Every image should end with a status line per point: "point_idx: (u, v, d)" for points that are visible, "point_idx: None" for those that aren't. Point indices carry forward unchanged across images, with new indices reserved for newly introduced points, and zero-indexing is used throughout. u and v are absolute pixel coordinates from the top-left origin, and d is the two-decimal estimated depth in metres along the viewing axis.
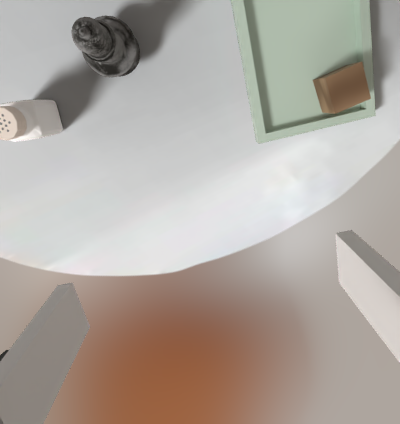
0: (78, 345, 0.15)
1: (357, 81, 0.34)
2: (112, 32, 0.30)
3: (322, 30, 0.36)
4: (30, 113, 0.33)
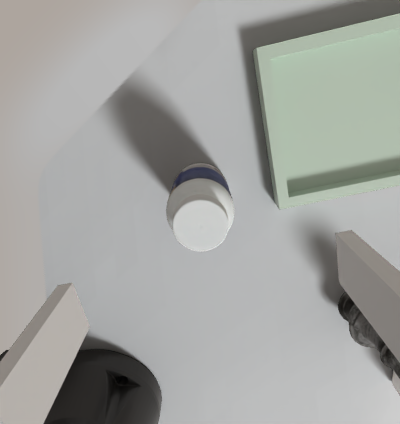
0: (78, 345, 0.15)
1: None
2: None
3: (394, 76, 0.27)
4: None
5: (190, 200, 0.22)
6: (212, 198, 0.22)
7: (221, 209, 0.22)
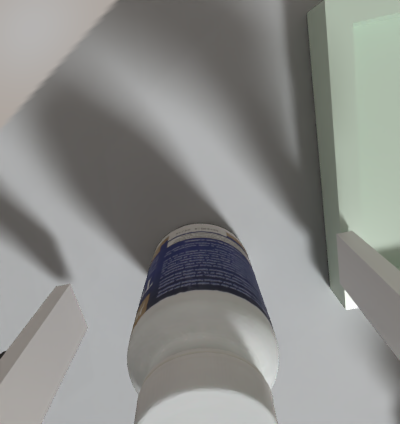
0: (76, 346, 0.15)
1: None
2: None
3: None
4: None
5: (180, 383, 0.08)
6: (237, 366, 0.09)
7: (263, 408, 0.08)
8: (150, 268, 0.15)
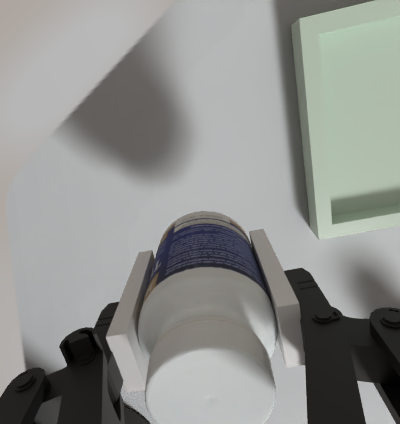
0: None
1: None
2: None
3: None
4: None
5: (188, 344, 0.09)
6: (238, 332, 0.10)
7: (261, 367, 0.09)
8: (158, 252, 0.16)
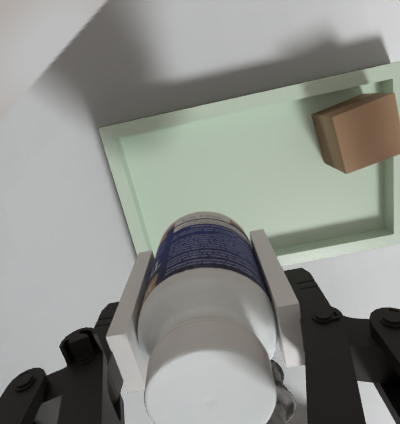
0: None
1: (361, 120, 0.20)
2: None
3: (260, 155, 0.25)
4: None
5: (187, 345, 0.09)
6: (238, 333, 0.10)
7: (261, 368, 0.09)
8: (158, 252, 0.16)
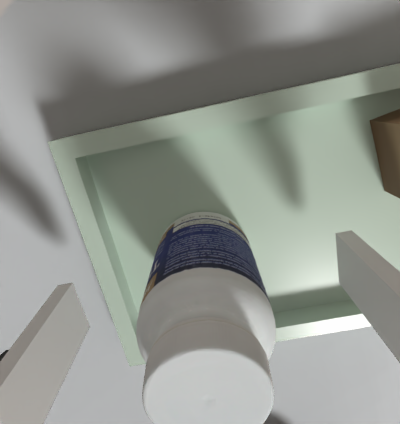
0: (78, 345, 0.15)
1: None
2: None
3: (291, 179, 0.17)
4: None
5: (185, 345, 0.09)
6: (236, 332, 0.10)
7: (259, 367, 0.09)
8: (157, 252, 0.16)
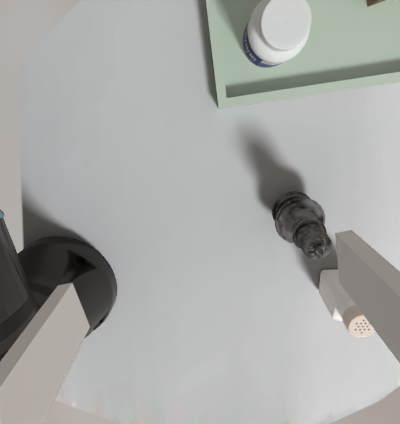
0: (78, 345, 0.15)
1: None
2: (305, 221, 0.34)
3: None
4: (348, 298, 0.38)
5: None
6: None
7: (307, 4, 0.25)
8: None
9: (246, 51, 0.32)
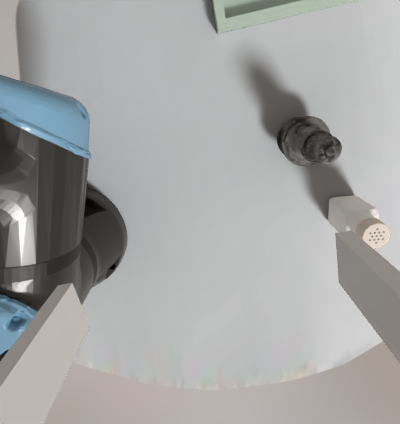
0: (78, 345, 0.15)
1: None
2: (313, 132, 0.34)
3: None
4: (359, 214, 0.38)
5: None
6: None
7: None
8: None
9: None
